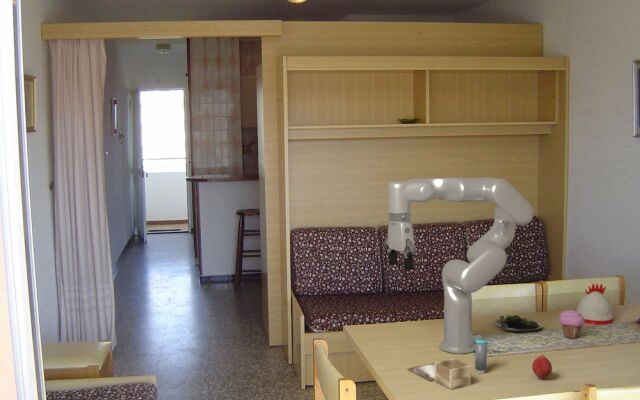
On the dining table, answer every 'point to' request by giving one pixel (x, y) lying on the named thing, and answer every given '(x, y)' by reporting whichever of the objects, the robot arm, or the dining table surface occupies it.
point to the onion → (542, 367)
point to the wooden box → (452, 374)
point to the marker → (481, 355)
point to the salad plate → (518, 324)
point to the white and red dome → (595, 307)
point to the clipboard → (425, 371)
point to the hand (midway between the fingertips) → (400, 267)
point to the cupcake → (571, 323)
